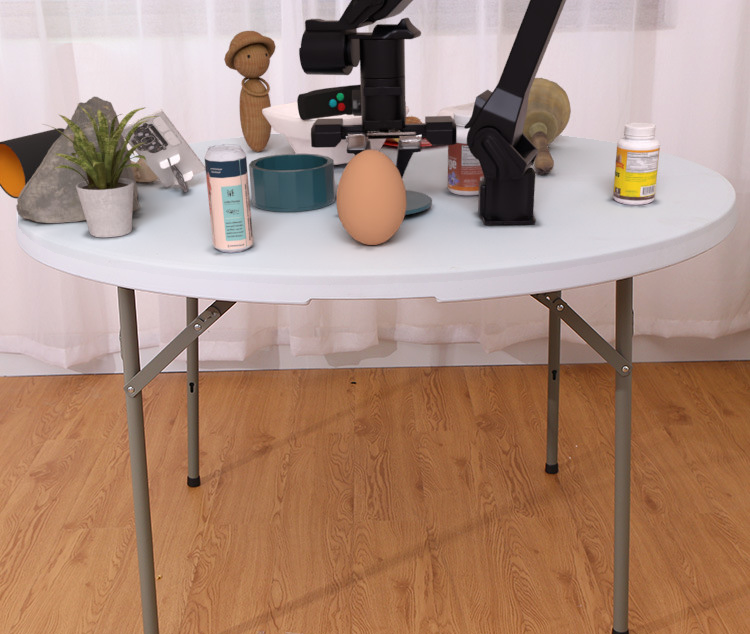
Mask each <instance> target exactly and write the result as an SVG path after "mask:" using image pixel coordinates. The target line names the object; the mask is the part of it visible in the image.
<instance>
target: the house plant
mask: <svg viewBox="0 0 750 634" xmlns="http://www.w3.org/2000/svg"><path fill="white" fill-rule="evenodd" d="M79 106H80V105H79ZM80 107H81V106H80ZM81 108H82V107H81ZM88 108H89V107H88ZM146 108H147V106H146V107H139V108H136V109H133V110H131V111H130V112H128V113H126V115H124V117H123V118H122V119H121V120H120V121H119V125H118V126H117V128H116V130H115V131H114V127H115V121H116V118H118V117H119V116H121V115H123V113H120V114H116V115H117V116H116V117H115V118H114V119H113V120H112V123H111V129H110V137H109V130H108V122H107V119H106V117H105V116H104V115H103V114H102V112H101V111H100V110H97V116H98V122H99V130H98V126H97V123H96V120H95V117H94V115H93V113H92V111H91V110H90V111H91V113H92V115H93V117H94V119H93V118H92V117H91V115H90V114H89V113H88V112H87V111H86V110H85V109H83V108H82V109H83V111H84V112H85V113H86V114H87V115H88V117H89V118H90V120H91V123H92V125H93V128H94V131H95V134H96V137H97V141H98V145H99V149H100V153H101V154H100V153H98V152H96V148H95V146H94V144H93V143H92V142H90V143H89V141H88V139H87V137H86V136H85V134H84V132H83V131H82V130H81V128H80V127H79V126H77V125H76V124H75V123H74V122H72V121H71V118H68V117H67V116H65V115H61V114H58V116H59V117H60V118H61V119H62V120H63V121H64V122H66V124H67V126H68V125H69V127H70V128H71V130H72V131H73V133H74V134H75V135H74V140H73V141H72V140H71V139H70V138H69V137H67V136H66V135H65V134H64V133H62V132H61V131H59V130H58V129H57V128H56V127H55V126H54V127H53V126H51V125H48V124H45V123H43V125H45V126H48V127H50V128H52V129H56V130H58V131H59V132H60V133H61V134H63V135H64V136H65V137H67V138H68V139H69V140H70V141H71V142H72V143H73V147H74V149H75V151H76V153H71V154H72V155H73V156H74V157H73V156H70V155H66V154H56V153H54V154H55V155H57V156H61V157H63V158H65V159H67V160H69V161H71V162H73V163H76V164H77V165H79V166H80V167H81V168H82V169H83V170H85V171H86V174H87V178H88V180H86V179H85V178H84V177H83V176H82V174H81V173H80V172H78V171H77V170H75V169H74V168H72V167H70V166H67V165H60V166H58V167H56V168H67V169H71V170H73V171H75V172H77V173H78V174H80V175H81V176H82V177H83V178H84V179H85V181H83V182H80V183H78V184H77V185H76V189H77V192H78V195H79V198H80V202H81V205H82V208H83V211H84V215H85V218H86V220H85V221H86V224H87V227H88V230H89V234H90V235H91V236H92V237H96V238H115V237H122V236H125V235H128V234H130V233H132V231H133V212H134V211H133V189H134V182H133V181H132V180H130V179H125V178H120V175H121V173H122V171H123V169H124V168H126V167H139V168H142V167H141V166H140V165H138V164H128V165H126V166H125V164H126V162H127V161H128V160H132V159H134V158H138V159H139V158H142V159H144V160H146V158H145V157H144V156H142V155H138V154H137V155H135V153H134V152H136V151H135V150H136V148H137V147H138V146H139V145H141V144H144V143H140V144H137V145H135V146H134V147H131V148H130V149H128V150H127V151H128V153H127V154H126V155H125V157H124V159H123V161H122V163H121V165H120V162H121V160H122V157H123V155H124V152H126V151H125V149H126V146H127V147H128V144H129V143H128V142H129V140H130V138H131V136H132V135H133V133H134V131H135V130H136V129H137V128H138V127H139V126H140V125H141V124H142V123H144V122H147V121H142V122H139V121H141V120H143V119H146V118H151V117H158V116H149V117H145V116H144V117H145V118H143V117H142V118H143V119H141V118H140V119H141V120H139V121H138V122H139V123H138V122H137V123H135V124H136V125H135V124H134V125H135V126H134V127H132V128H131V131H129V132H128V133H129V134H127V135H128V136H126V137H125V139H126V140H125V139H124V140H125V143H124V145H123V147H122V150H120V148H121V146H122V145H121V146H120V148H119V150H118V151H116V149H117V145H118V142H119V138H120V136H121V134H122V132H123V129H124V127H125V126H126V125H128V123H129V121H130V120H131V119H132V118H133V116H135V114H136V113H137V112H139V111H141V110H144V109H146ZM89 109H90V108H89ZM94 120H95V121H94ZM123 142H124V141H123ZM145 143H146V142H145ZM122 144H123V143H122ZM82 148H83V150H84V151H85V152H86V153H85V152H84V151H83V150H82ZM76 154H77V155H78V157H79V158H80V159H79V158H76V157H75V155H76ZM132 155H133V157H131V156H132ZM129 157H130V159H129ZM90 161H91V162H90ZM146 162H147V161H146ZM116 163H117V164H116ZM119 166H120V168H119ZM115 167H116V168H115ZM56 168H55V169H56ZM118 169H119V170H118ZM142 169H143V168H142ZM114 170H115V171H114ZM143 170H144V169H143Z"/></svg>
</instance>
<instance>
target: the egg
mask: <svg viewBox="0 0 750 634" xmlns="http://www.w3.org/2000/svg"><path fill="white" fill-rule="evenodd" d="M406 190H407V189H406V186H405V183H404V180H403V178H402V177H401V175H400V173H399V170H398V169H397V167H396V163H394V162H393V160H392V159H391V158H390V157H389V156H388V155H387V154H385V153H383V152H382V151H380V150H379V151H377V150H365V151H362V152H360V153H359V154H357V155H356V156H354V157H353V158H352V159H351V160H350V161H349V163H346V166H345V168H344V169H343V170H342V174H341V176H340V179H339V182H338V184H337V190H336V210H337V216H338V219H339V221H340V223H341V224H342V227H343V228H344V230H345V231H346V233H348V234H349V236H350V237H352V239H354V240H355V241H357V242H359V243H361V244H363V245H366V246H367V245H368V246H377V245H381V244H383V243H385V242H387V241H388V240H390V239H391V238H392V237H393V236H394V235H395V234H396V233H397V232H398V230H399V229H400V227H401V225H402V223H403V222H404V219H405V216H406V215H405V212H406V204H407V202H406Z"/></svg>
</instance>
